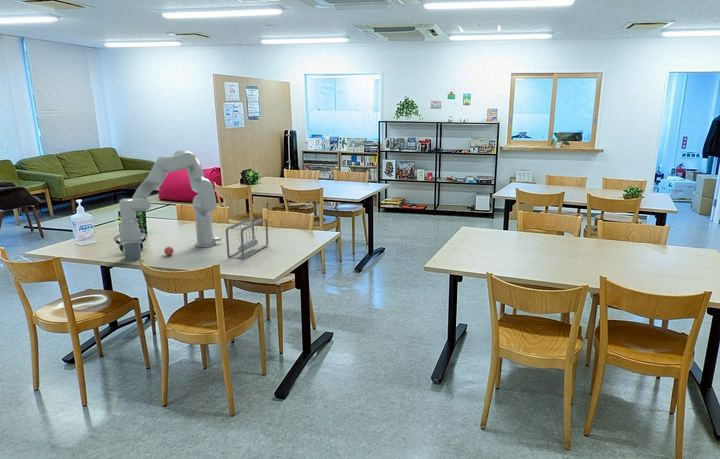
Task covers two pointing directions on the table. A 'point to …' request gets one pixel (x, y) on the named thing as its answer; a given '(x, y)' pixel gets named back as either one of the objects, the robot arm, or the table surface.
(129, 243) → the gray cube
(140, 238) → the jar
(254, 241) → the newton's cradle
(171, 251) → the ball
